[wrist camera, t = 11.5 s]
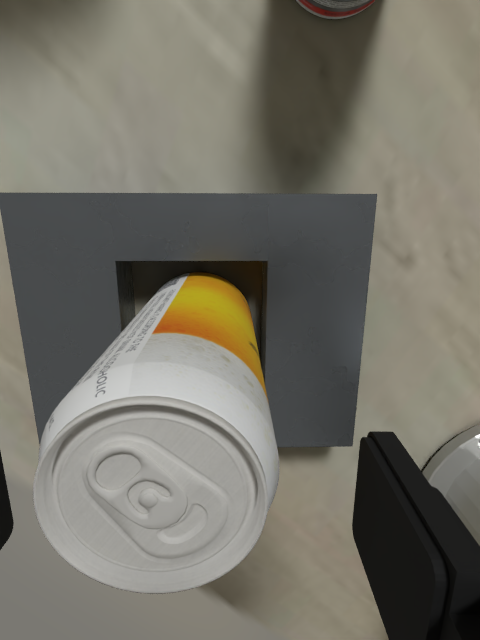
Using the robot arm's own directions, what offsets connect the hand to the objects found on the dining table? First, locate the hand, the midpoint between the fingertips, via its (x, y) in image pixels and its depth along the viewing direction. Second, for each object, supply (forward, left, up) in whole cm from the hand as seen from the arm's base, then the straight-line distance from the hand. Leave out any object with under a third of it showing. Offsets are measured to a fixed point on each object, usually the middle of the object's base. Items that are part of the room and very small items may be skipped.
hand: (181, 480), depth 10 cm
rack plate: (+1, 0, -14) cm, 14 cm away
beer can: (+1, 0, -14) cm, 14 cm away
